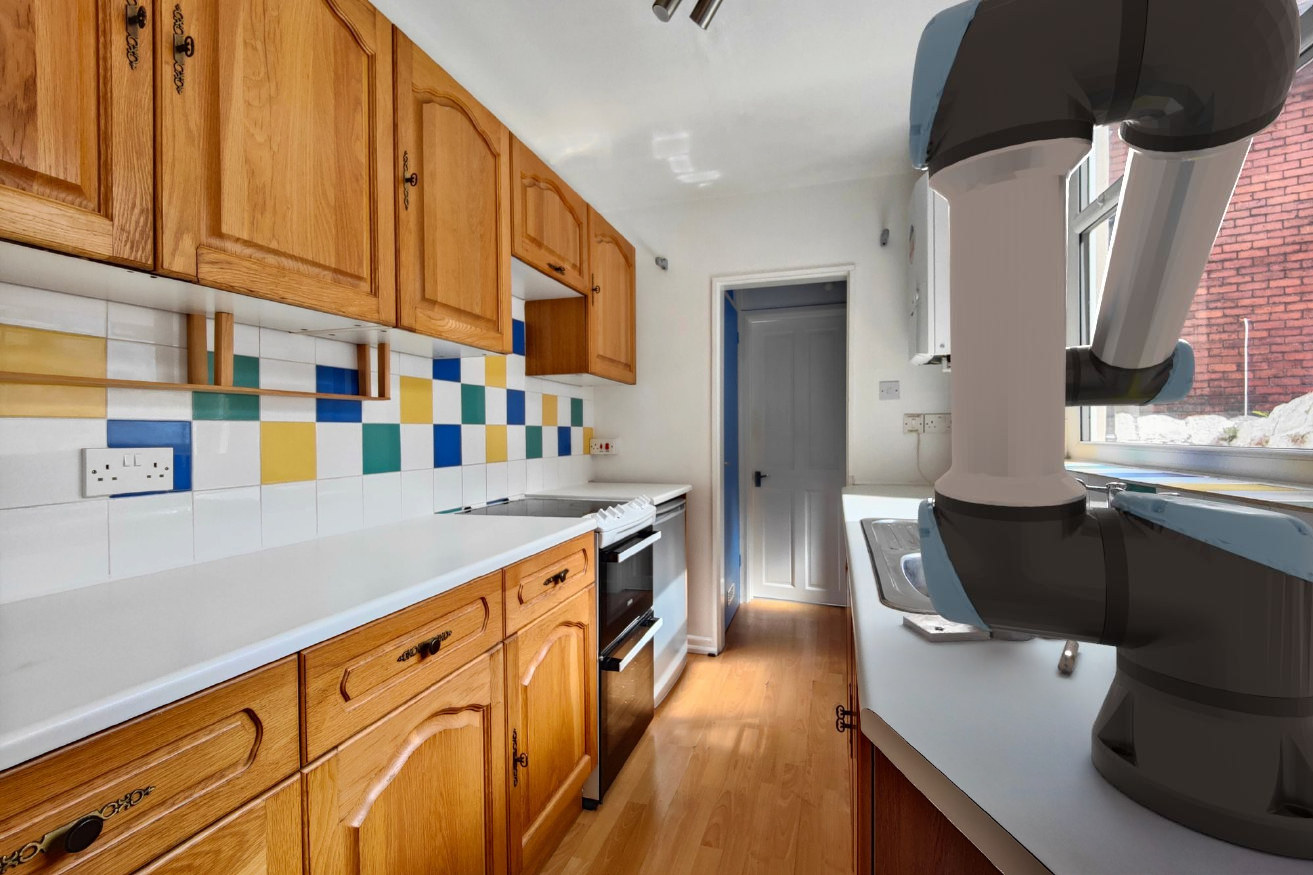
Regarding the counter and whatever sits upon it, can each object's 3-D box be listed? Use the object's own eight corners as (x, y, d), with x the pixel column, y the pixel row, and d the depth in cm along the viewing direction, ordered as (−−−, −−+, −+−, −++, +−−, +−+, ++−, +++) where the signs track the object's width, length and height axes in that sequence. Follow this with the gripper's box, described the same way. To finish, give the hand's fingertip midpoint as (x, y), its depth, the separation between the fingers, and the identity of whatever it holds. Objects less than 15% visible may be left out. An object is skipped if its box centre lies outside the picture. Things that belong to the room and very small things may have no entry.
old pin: (1072, 675, 65) (1072, 664, 65) (1057, 672, 66) (1057, 660, 66) (1079, 651, 73) (1078, 640, 73) (1065, 648, 74) (1065, 638, 74)
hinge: (933, 643, 76) (932, 627, 76) (901, 622, 84) (901, 608, 84) (1105, 637, 78) (1105, 622, 78) (1057, 618, 86) (1057, 604, 86)
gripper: (1083, 453, 71) (1084, 629, 71) (974, 450, 92) (976, 585, 92) (1027, 454, 70) (1029, 631, 70) (931, 451, 92) (932, 586, 92)
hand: (999, 605), depth 81 cm, fingers open, 9 cm apart
